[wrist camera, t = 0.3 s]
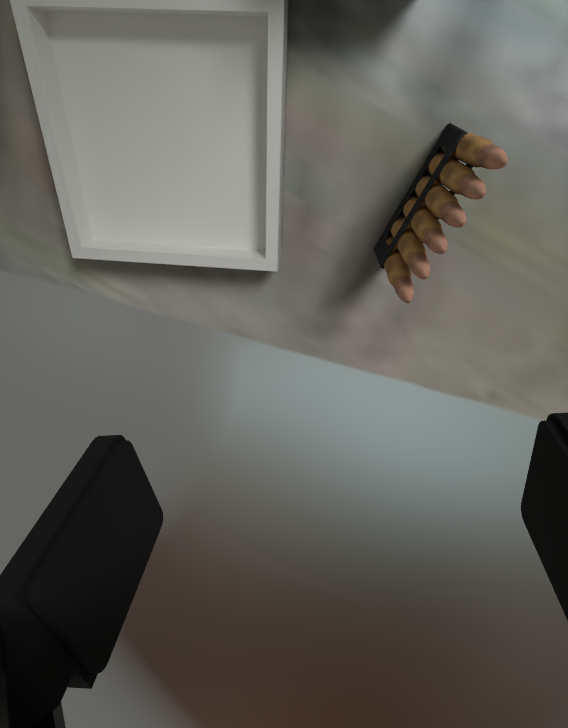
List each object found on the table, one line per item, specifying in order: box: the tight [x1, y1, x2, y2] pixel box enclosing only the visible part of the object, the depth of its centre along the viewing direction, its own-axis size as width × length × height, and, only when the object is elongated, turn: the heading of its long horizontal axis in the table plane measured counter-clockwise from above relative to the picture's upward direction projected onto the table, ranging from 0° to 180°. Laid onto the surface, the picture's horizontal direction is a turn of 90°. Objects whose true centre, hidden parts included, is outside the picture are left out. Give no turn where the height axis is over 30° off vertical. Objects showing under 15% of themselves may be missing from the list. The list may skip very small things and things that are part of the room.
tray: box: [10, 0, 289, 271], centre depth 33 cm, size 18×18×3 cm
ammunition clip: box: [374, 123, 508, 303], centre depth 29 cm, size 11×2×12 cm, turn 156°
